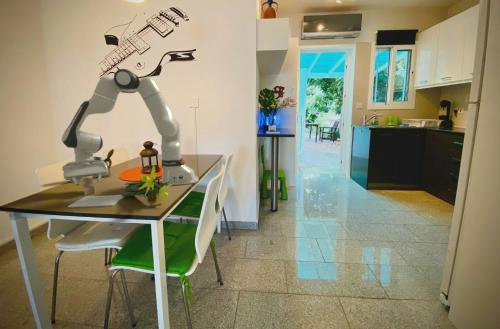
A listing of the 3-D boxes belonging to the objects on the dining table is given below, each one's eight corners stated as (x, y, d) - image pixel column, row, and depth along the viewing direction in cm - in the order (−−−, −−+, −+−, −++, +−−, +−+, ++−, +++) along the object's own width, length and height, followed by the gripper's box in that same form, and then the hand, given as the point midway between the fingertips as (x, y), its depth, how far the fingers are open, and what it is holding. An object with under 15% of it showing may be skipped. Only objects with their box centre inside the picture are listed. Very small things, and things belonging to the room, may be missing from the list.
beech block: (94, 191, 135) (92, 175, 133) (94, 193, 131) (92, 177, 130) (84, 192, 133) (82, 176, 131) (84, 195, 129) (82, 178, 127)
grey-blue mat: (126, 195, 127) (126, 194, 127) (113, 205, 113) (113, 204, 113) (85, 197, 125) (85, 196, 125) (68, 207, 112) (67, 206, 112)
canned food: (79, 178, 163) (76, 160, 160) (87, 179, 160) (84, 161, 158) (67, 181, 156) (63, 163, 153) (75, 182, 153) (72, 163, 150)
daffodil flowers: (147, 191, 136) (187, 186, 114) (128, 211, 126) (168, 210, 105) (126, 168, 128) (164, 158, 107) (104, 188, 118) (141, 182, 97)
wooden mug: (119, 174, 172) (116, 149, 168) (98, 178, 162) (95, 151, 158) (114, 173, 177) (110, 148, 174) (93, 176, 167) (89, 150, 163)
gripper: (60, 161, 129) (62, 183, 123) (105, 157, 140) (109, 177, 134) (62, 168, 133) (64, 189, 127) (106, 163, 144) (109, 183, 138)
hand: (88, 183), depth 131 cm, fingers open, 8 cm apart
